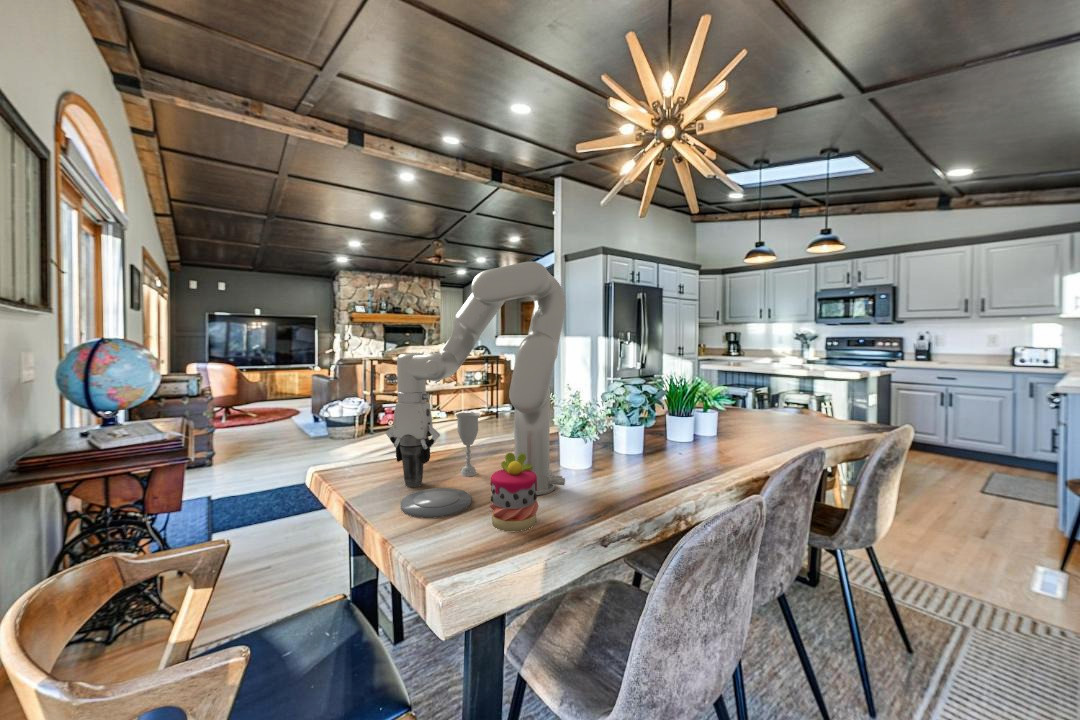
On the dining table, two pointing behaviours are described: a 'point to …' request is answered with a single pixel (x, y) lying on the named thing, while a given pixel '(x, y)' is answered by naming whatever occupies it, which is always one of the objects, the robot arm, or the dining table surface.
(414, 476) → the beverage cup
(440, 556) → the dining table surface
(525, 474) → the cake
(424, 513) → the dish
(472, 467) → the chalice
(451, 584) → the dining table surface
